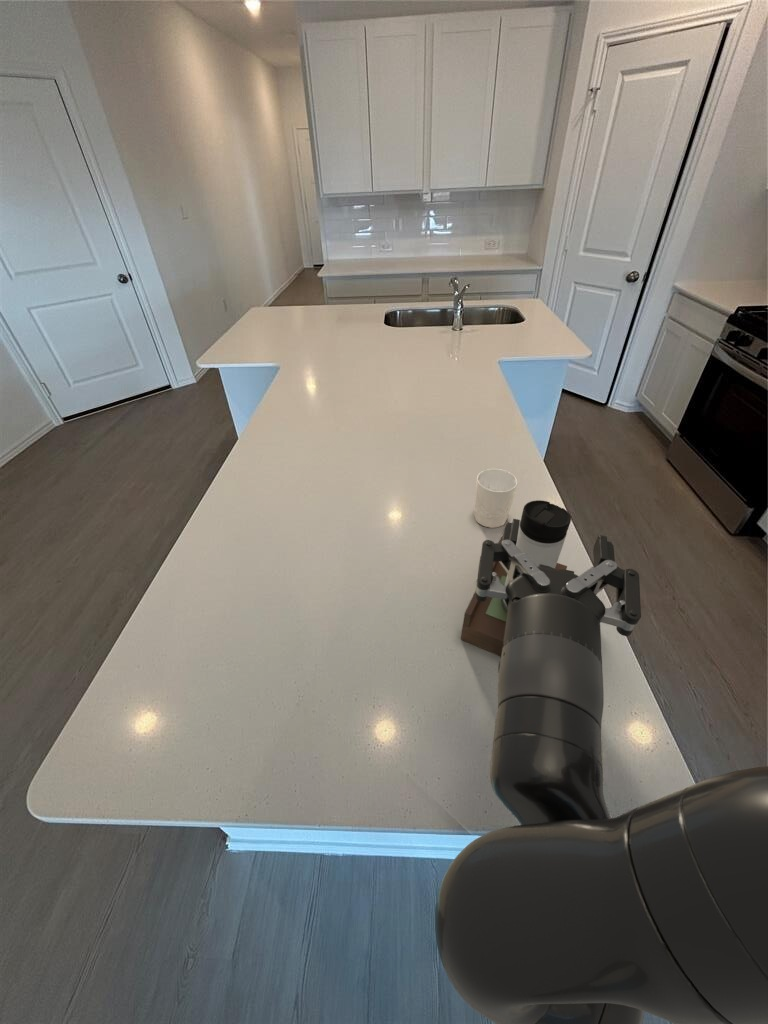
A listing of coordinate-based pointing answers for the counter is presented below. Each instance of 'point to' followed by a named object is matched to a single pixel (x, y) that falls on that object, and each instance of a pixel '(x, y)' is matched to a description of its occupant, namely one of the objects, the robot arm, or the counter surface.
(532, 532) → the travel mug
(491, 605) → the wooden coaster base
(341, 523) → the counter surface
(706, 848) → the robot arm
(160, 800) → the counter surface
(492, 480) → the white cup
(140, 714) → the counter surface
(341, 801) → the counter surface
